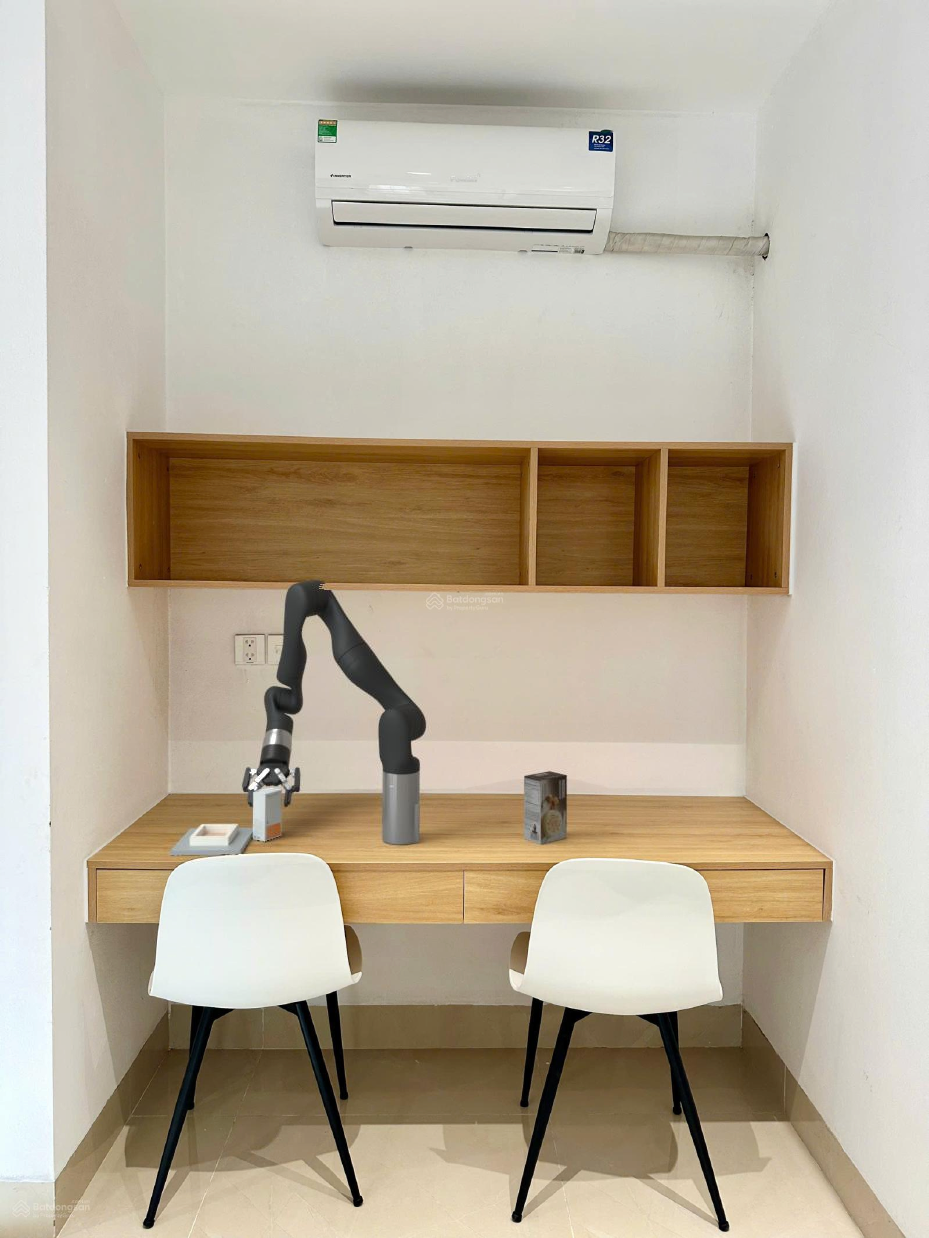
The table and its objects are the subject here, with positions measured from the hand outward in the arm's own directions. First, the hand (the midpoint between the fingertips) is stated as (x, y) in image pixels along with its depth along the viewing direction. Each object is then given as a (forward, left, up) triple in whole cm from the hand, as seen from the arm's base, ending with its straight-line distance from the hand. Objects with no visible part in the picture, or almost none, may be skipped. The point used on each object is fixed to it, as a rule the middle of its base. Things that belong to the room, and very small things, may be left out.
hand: (268, 805), depth 211 cm
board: (+12, +5, -8) cm, 15 cm away
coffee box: (-69, +3, -8) cm, 70 cm away
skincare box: (0, +1, -8) cm, 8 cm away
